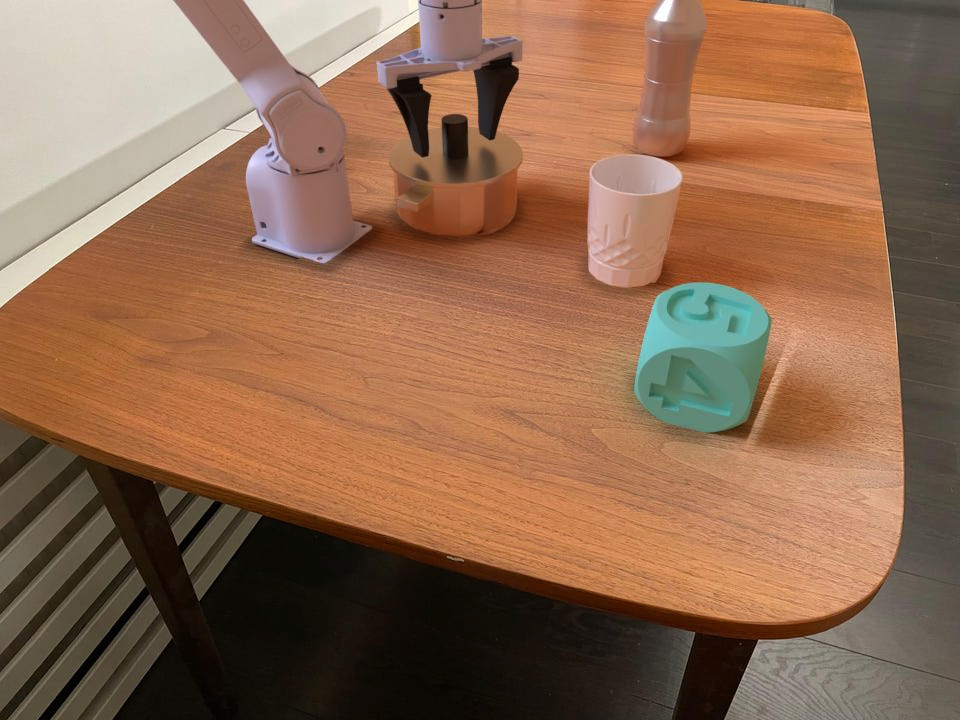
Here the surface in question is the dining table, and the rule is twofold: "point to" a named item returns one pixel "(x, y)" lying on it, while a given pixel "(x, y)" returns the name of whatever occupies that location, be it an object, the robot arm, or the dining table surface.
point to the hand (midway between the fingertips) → (454, 144)
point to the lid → (457, 157)
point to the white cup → (630, 217)
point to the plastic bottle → (668, 76)
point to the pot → (457, 206)
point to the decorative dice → (702, 356)
